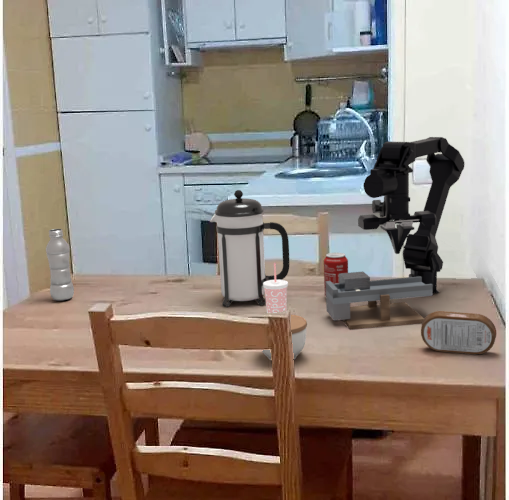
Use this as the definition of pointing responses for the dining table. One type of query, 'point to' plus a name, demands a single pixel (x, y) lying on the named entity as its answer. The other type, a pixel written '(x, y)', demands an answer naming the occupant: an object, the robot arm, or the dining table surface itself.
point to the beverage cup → (275, 294)
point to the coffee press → (244, 249)
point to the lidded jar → (295, 335)
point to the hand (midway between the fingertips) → (397, 253)
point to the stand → (382, 314)
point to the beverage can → (334, 267)
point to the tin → (458, 332)
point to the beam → (373, 294)
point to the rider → (354, 281)
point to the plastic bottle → (59, 266)
